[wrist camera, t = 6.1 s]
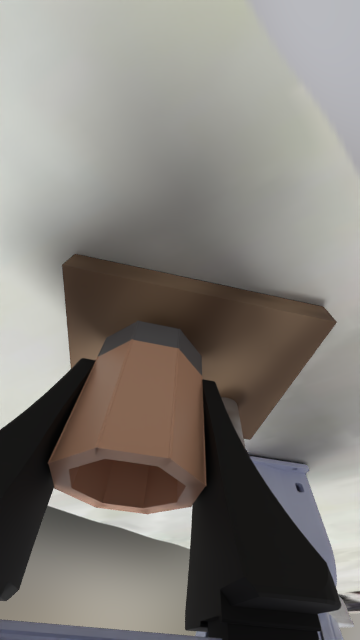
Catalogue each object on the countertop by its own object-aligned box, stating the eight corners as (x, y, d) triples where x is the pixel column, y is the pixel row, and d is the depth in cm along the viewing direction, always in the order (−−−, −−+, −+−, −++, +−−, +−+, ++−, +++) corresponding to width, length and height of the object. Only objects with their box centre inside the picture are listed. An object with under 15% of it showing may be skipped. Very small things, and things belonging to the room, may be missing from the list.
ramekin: (303, 591, 66) (311, 622, 61) (347, 592, 64) (358, 624, 60) (301, 597, 72) (308, 626, 68) (340, 599, 70) (350, 628, 66)
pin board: (323, 306, 13) (381, 373, 9) (246, 422, 20) (260, 489, 16) (75, 253, 12) (16, 303, 8) (82, 395, 19) (52, 460, 15)
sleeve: (209, 334, 12) (221, 465, 7) (186, 396, 15) (182, 518, 10) (107, 314, 11) (40, 438, 6) (104, 381, 14) (57, 503, 9)
